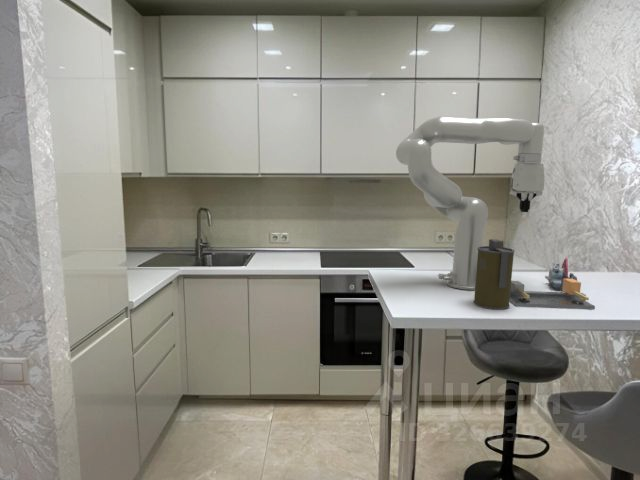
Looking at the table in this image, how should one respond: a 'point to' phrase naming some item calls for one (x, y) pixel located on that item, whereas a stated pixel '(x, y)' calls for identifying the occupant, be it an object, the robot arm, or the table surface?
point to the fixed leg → (518, 289)
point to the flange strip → (551, 303)
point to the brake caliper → (559, 275)
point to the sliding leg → (573, 288)
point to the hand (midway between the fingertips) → (524, 211)
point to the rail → (547, 295)
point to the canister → (493, 275)
